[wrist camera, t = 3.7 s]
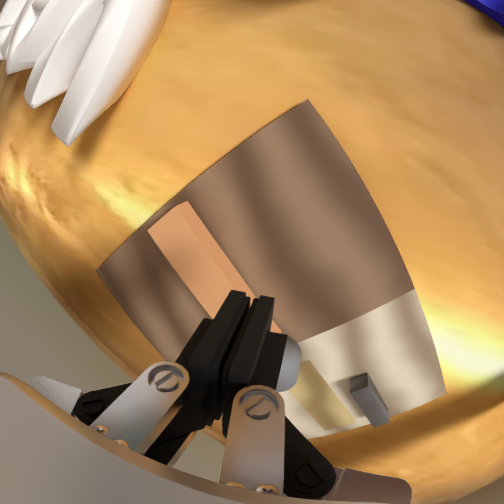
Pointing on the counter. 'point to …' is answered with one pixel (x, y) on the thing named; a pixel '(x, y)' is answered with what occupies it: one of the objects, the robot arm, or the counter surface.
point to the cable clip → (490, 8)
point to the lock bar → (211, 273)
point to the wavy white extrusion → (79, 52)
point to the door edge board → (297, 276)
